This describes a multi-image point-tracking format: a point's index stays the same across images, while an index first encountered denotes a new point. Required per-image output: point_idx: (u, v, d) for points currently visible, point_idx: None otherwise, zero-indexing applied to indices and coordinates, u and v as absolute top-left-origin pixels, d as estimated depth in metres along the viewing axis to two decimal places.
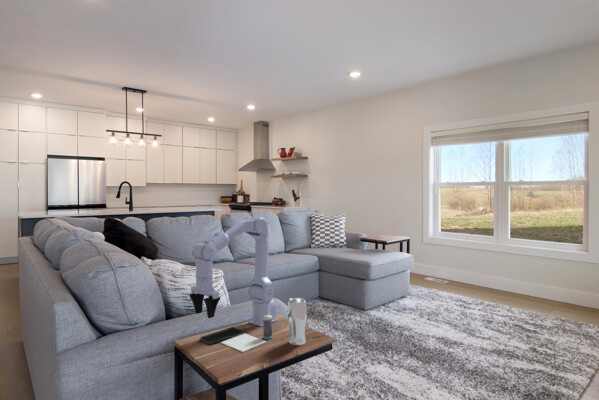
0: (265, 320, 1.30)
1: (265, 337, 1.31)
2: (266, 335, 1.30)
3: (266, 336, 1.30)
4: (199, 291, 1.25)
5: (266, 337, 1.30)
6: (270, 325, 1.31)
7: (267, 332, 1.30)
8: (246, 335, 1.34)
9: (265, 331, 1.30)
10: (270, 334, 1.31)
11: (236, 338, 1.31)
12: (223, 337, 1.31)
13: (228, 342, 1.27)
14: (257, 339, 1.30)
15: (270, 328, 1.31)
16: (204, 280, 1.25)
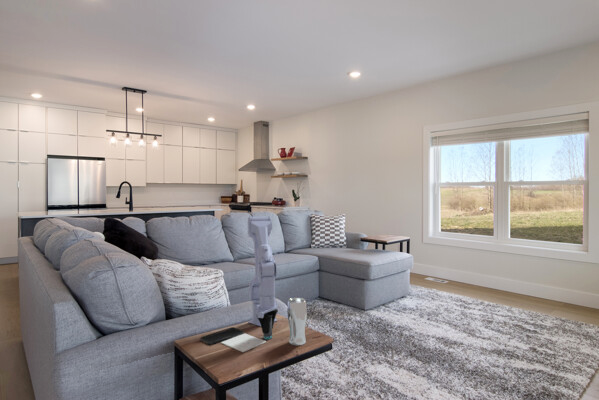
0: None
1: (265, 337, 1.31)
2: (266, 335, 1.30)
3: (266, 336, 1.30)
4: (259, 306, 1.32)
5: (266, 337, 1.30)
6: (270, 325, 1.31)
7: None
8: (246, 335, 1.34)
9: None
10: (270, 334, 1.31)
11: (236, 338, 1.31)
12: (223, 337, 1.31)
13: (228, 342, 1.27)
14: (257, 339, 1.30)
15: (270, 328, 1.31)
16: (261, 297, 1.30)
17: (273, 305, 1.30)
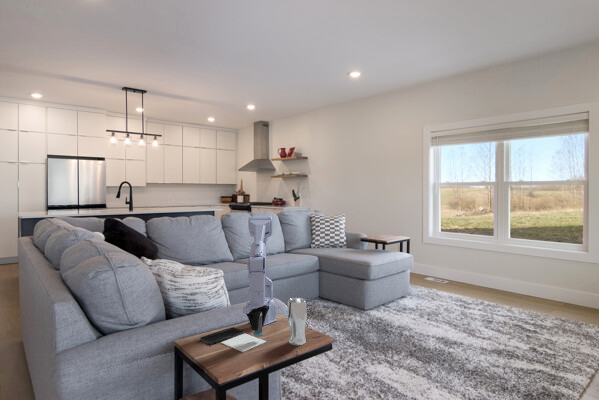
0: None
1: (254, 334, 1.27)
2: (255, 332, 1.27)
3: (255, 333, 1.27)
4: (249, 302, 1.28)
5: (255, 334, 1.27)
6: (259, 322, 1.27)
7: None
8: (246, 335, 1.34)
9: None
10: (259, 331, 1.27)
11: (236, 338, 1.31)
12: (223, 337, 1.31)
13: (228, 342, 1.27)
14: (257, 339, 1.30)
15: (259, 325, 1.27)
16: (249, 292, 1.27)
17: (262, 301, 1.26)
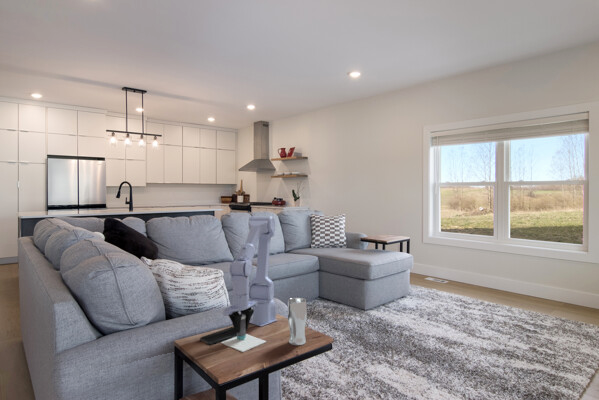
0: None
1: (237, 336, 1.29)
2: (238, 334, 1.29)
3: (238, 335, 1.29)
4: None
5: (238, 336, 1.29)
6: (242, 325, 1.29)
7: None
8: (246, 335, 1.34)
9: None
10: (242, 334, 1.29)
11: (236, 338, 1.31)
12: (223, 337, 1.31)
13: (228, 342, 1.27)
14: (257, 339, 1.30)
15: (242, 328, 1.29)
16: (233, 295, 1.30)
17: (244, 305, 1.28)
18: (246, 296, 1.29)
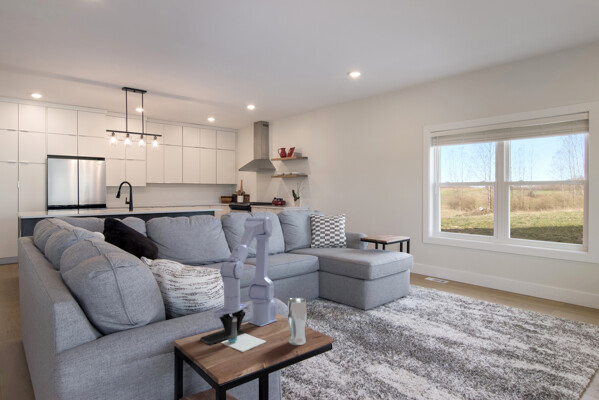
0: None
1: (228, 339, 1.27)
2: (229, 337, 1.27)
3: (229, 338, 1.27)
4: None
5: (229, 339, 1.27)
6: (233, 327, 1.26)
7: None
8: (246, 335, 1.34)
9: None
10: (233, 337, 1.26)
11: None
12: (223, 337, 1.31)
13: (228, 342, 1.27)
14: (257, 339, 1.30)
15: (233, 330, 1.26)
16: (224, 297, 1.27)
17: (235, 307, 1.25)
18: (237, 298, 1.26)
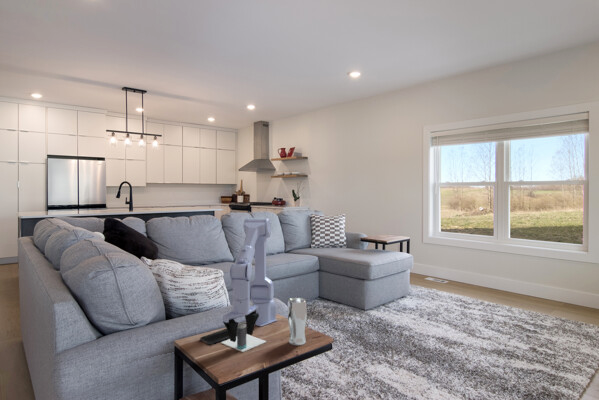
0: (237, 328, 1.22)
1: (237, 346, 1.22)
2: (238, 344, 1.22)
3: (238, 345, 1.22)
4: None
5: (238, 346, 1.22)
6: (242, 334, 1.22)
7: (238, 341, 1.22)
8: (246, 335, 1.34)
9: (237, 339, 1.22)
10: (242, 343, 1.22)
11: (236, 338, 1.31)
12: (223, 337, 1.31)
13: (228, 342, 1.27)
14: (257, 339, 1.30)
15: (242, 337, 1.22)
16: None
17: (244, 310, 1.21)
18: (247, 301, 1.22)
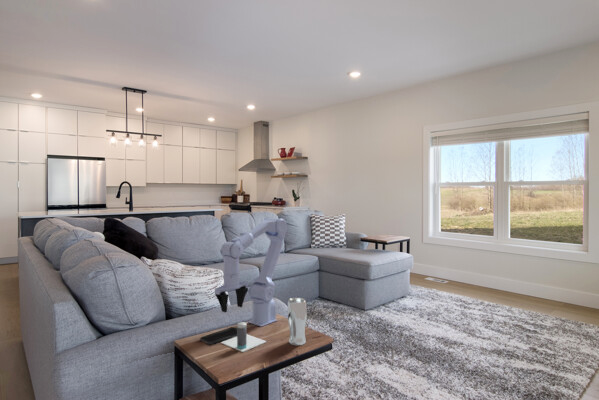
0: (238, 327, 1.22)
1: (237, 346, 1.22)
2: (238, 344, 1.22)
3: (238, 345, 1.22)
4: None
5: (238, 346, 1.22)
6: (243, 334, 1.22)
7: (239, 341, 1.22)
8: None
9: (237, 339, 1.22)
10: (242, 343, 1.22)
11: (236, 338, 1.31)
12: (223, 337, 1.31)
13: (228, 342, 1.27)
14: (257, 339, 1.30)
15: (243, 337, 1.22)
16: (224, 275, 1.36)
17: (234, 284, 1.34)
18: (237, 276, 1.35)
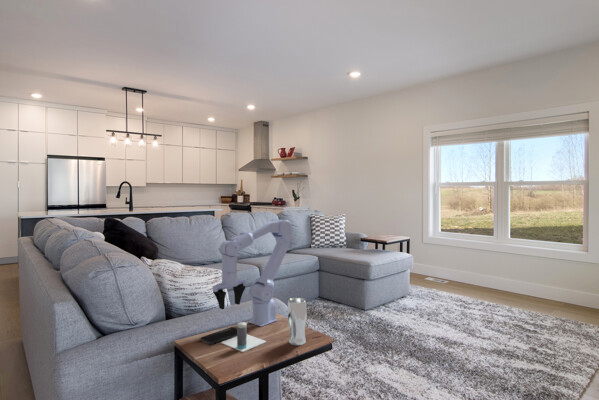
0: (238, 327, 1.22)
1: (237, 346, 1.22)
2: (238, 344, 1.22)
3: (238, 345, 1.22)
4: None
5: (238, 346, 1.22)
6: (243, 333, 1.22)
7: (239, 341, 1.22)
8: None
9: (238, 339, 1.22)
10: (243, 343, 1.22)
11: (236, 338, 1.31)
12: (223, 337, 1.31)
13: (228, 342, 1.27)
14: (257, 339, 1.30)
15: (243, 337, 1.22)
16: (222, 273, 1.39)
17: (232, 282, 1.38)
18: (234, 274, 1.38)
